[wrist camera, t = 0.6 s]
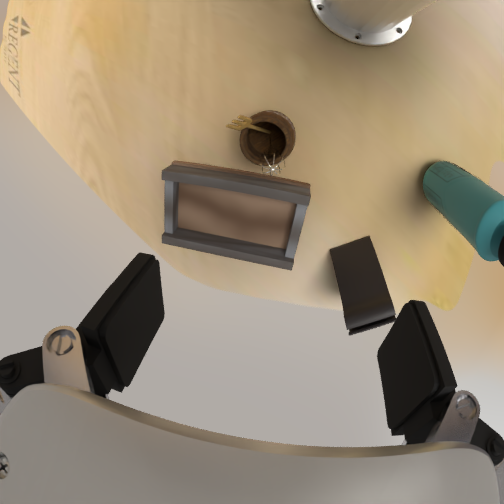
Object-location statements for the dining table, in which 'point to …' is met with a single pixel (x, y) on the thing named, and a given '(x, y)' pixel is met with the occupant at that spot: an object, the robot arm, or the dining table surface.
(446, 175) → the beverage bottle
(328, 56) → the dining table surface
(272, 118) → the utensil holder
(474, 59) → the dining table surface
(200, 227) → the gray framed rectangular tray
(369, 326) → the phone stand
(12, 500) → the robot arm
